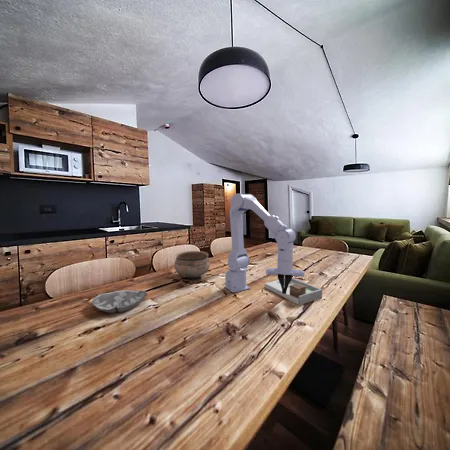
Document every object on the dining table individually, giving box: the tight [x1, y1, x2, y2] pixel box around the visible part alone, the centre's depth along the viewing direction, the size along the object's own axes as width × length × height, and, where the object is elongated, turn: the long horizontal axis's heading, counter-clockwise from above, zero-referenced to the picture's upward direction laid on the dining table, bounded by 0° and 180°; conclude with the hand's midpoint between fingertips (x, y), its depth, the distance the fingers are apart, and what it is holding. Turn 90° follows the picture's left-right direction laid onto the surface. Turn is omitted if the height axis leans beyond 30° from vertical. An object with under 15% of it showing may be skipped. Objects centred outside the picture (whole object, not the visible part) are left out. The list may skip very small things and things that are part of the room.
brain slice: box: [90, 289, 147, 314], centre depth 85 cm, size 20×17×3 cm
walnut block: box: [290, 283, 306, 298], centre depth 90 cm, size 4×4×4 cm
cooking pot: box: [173, 250, 211, 280], centre depth 117 cm, size 25×19×12 cm
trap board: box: [264, 277, 323, 306], centre depth 98 cm, size 14×21×4 cm, turn 31°
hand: (284, 292), depth 87 cm, fingers closed
